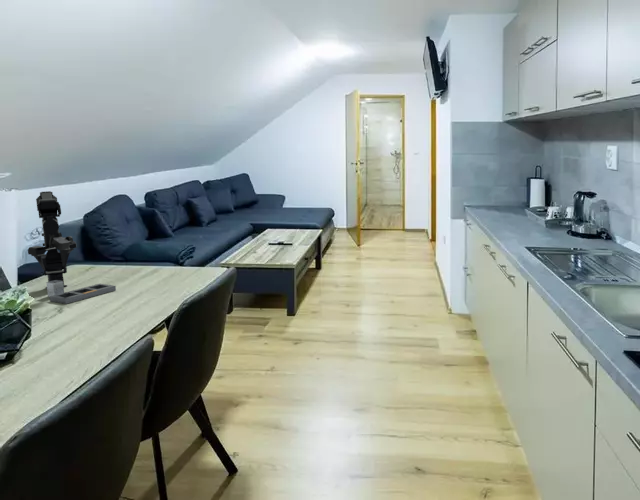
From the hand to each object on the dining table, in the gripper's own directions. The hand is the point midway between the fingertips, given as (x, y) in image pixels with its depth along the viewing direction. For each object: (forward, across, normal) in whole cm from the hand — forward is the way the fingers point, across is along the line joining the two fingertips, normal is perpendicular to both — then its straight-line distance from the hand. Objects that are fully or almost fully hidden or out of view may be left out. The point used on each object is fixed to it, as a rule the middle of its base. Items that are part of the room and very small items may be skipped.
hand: (55, 268), depth 240 cm
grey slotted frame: (+11, +4, -11) cm, 16 cm away
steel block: (+12, -1, 0) cm, 12 cm away
